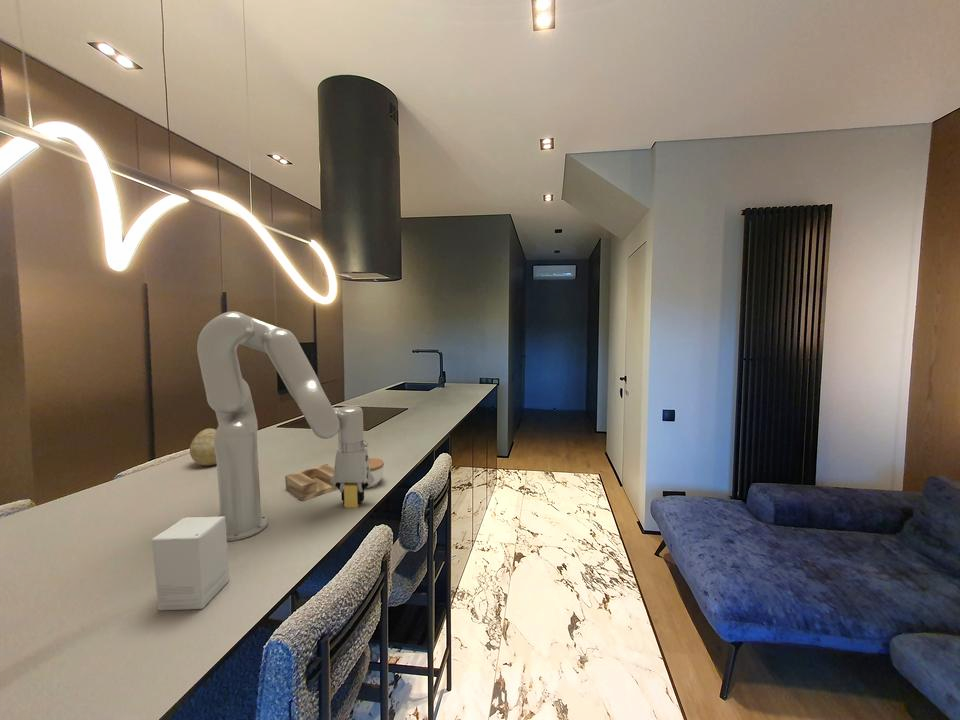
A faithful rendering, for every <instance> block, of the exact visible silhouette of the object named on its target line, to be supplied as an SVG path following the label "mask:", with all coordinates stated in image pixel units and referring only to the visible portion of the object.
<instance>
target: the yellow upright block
mask: <svg viewBox="0 0 960 720" xmlns="http://www.w3.org/2000/svg"><path fill="white" fill-rule="evenodd" d="M357 493H358V485H357V483H346V484H345V485H344V508H345V509H346V508H351V509H352V508H353V509H355V508H356V509H357V508H358V507H359V506H360V505H358V495H357Z"/></svg>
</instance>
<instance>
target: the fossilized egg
mask: <svg viewBox="0 0 960 720" xmlns="http://www.w3.org/2000/svg"><path fill="white" fill-rule="evenodd" d="M216 430H217V429H215V428H205V429H203V430H200V431H199V432H198V433H197V434H196V435H195V436H194V438H193V439H192V440H191V443H190V446H189V454H190V457H191V459H192V460H193V462H195V463H196V464H198V465H201V466H206V467H207V466H209V467H210V466H214V465H217V462H216V454H215V447H214V437H215V432H216Z"/></svg>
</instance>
